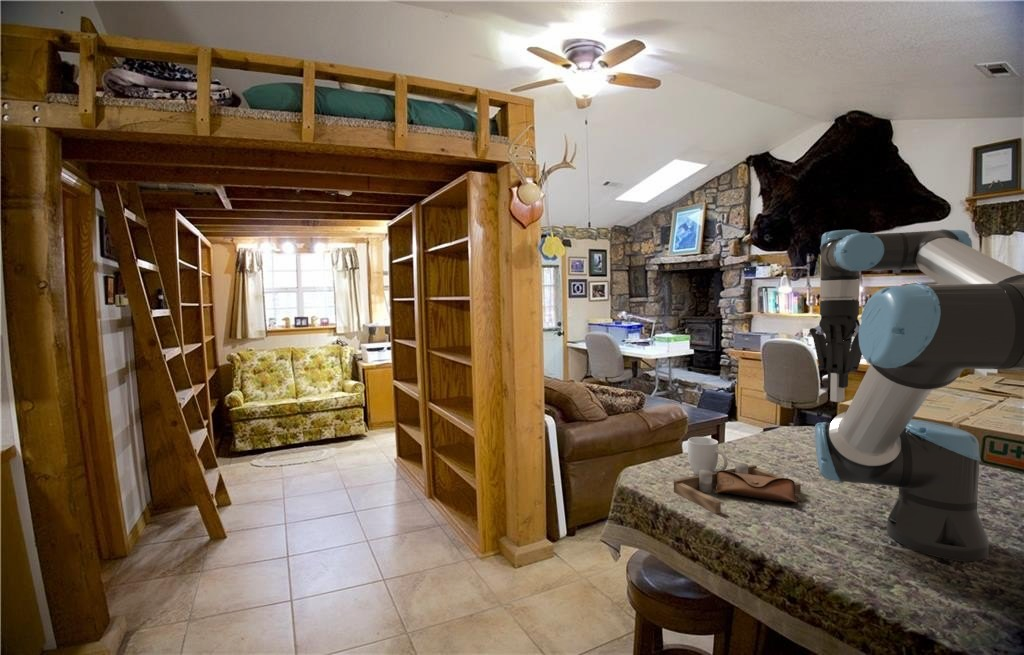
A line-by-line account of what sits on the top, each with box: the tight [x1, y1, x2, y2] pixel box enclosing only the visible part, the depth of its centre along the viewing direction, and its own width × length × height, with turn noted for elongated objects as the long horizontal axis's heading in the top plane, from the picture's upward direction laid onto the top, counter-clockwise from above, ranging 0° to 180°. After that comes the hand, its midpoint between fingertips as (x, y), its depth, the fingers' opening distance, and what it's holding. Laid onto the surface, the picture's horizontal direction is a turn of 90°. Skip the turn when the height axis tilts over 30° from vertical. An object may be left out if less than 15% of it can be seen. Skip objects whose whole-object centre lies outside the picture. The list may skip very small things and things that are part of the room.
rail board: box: [673, 462, 802, 514], centre depth 122 cm, size 14×27×5 cm, turn 112°
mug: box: [687, 436, 728, 476], centre depth 134 cm, size 11×8×9 cm
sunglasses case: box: [715, 470, 798, 503], centre depth 120 cm, size 18×7×7 cm
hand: (837, 400), depth 113 cm, fingers closed
